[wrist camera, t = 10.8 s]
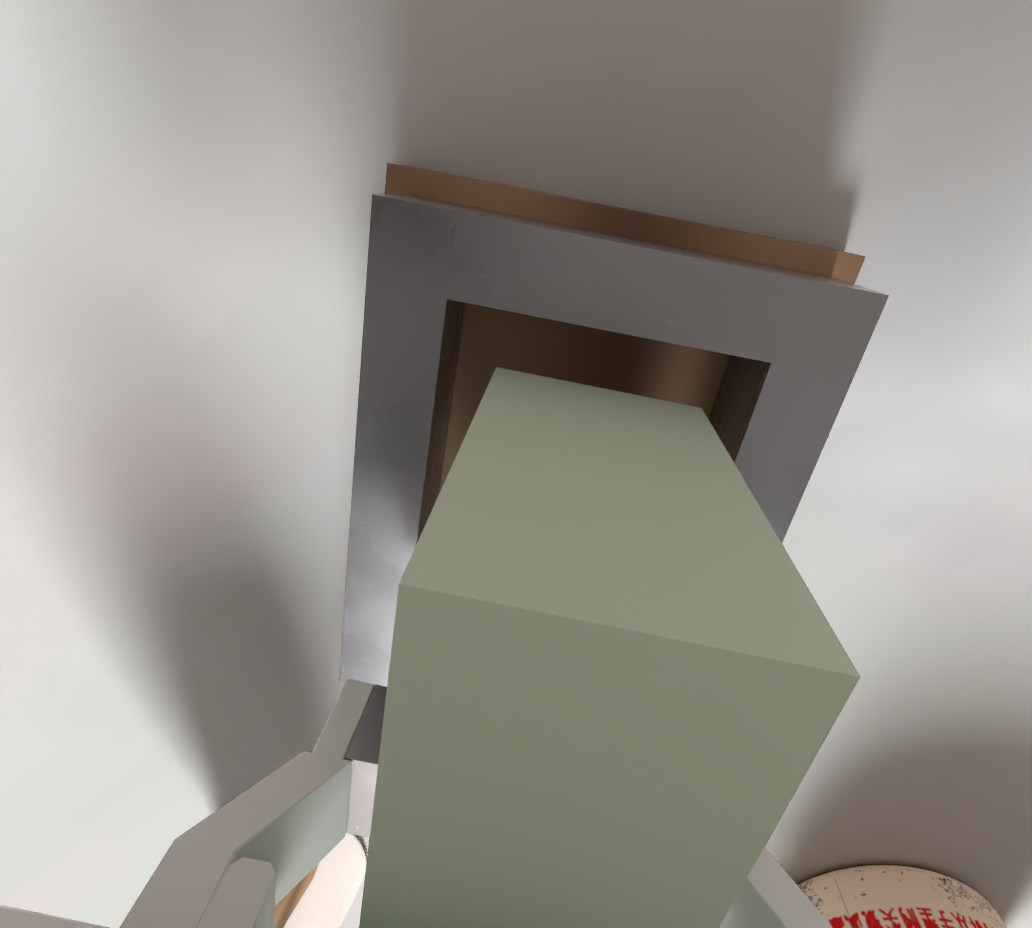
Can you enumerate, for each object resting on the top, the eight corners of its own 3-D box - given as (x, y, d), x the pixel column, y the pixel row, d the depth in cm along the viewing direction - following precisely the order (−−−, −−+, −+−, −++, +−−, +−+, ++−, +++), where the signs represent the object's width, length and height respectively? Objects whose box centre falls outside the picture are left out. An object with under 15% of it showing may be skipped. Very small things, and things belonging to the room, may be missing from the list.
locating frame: (352, 734, 21) (312, 832, 18) (400, 165, 13) (345, 156, 10) (634, 791, 21) (645, 900, 18) (845, 252, 13) (931, 271, 10)
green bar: (496, 366, 11) (400, 583, 5) (701, 407, 11) (860, 675, 5) (426, 784, 17) (333, 1153, 10) (568, 813, 16) (565, 1202, 10)
